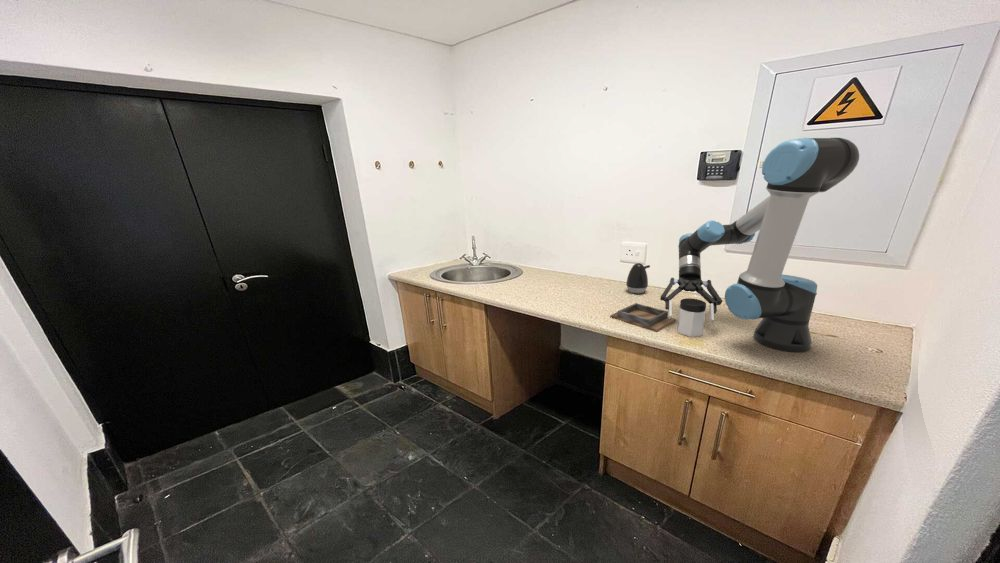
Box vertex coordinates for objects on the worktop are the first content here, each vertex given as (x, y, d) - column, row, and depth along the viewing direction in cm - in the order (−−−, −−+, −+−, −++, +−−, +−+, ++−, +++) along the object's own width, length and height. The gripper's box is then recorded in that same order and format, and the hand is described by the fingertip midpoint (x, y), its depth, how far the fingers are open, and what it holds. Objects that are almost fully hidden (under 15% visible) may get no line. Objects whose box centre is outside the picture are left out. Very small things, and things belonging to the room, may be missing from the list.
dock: (675, 321, 134) (676, 313, 133) (656, 332, 125) (657, 323, 124) (629, 308, 149) (630, 301, 148) (610, 317, 140) (610, 309, 139)
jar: (703, 338, 118) (708, 307, 115) (677, 335, 122) (681, 304, 118) (700, 328, 126) (704, 299, 123) (676, 326, 130) (679, 296, 126)
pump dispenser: (648, 295, 164) (651, 266, 160) (625, 294, 168) (628, 265, 163) (646, 289, 173) (649, 261, 169) (625, 288, 177) (627, 260, 173)
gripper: (724, 276, 130) (727, 326, 120) (654, 272, 139) (652, 319, 129) (729, 266, 123) (733, 318, 114) (655, 262, 132) (654, 311, 123)
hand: (690, 319), depth 122 cm, fingers open, 13 cm apart
